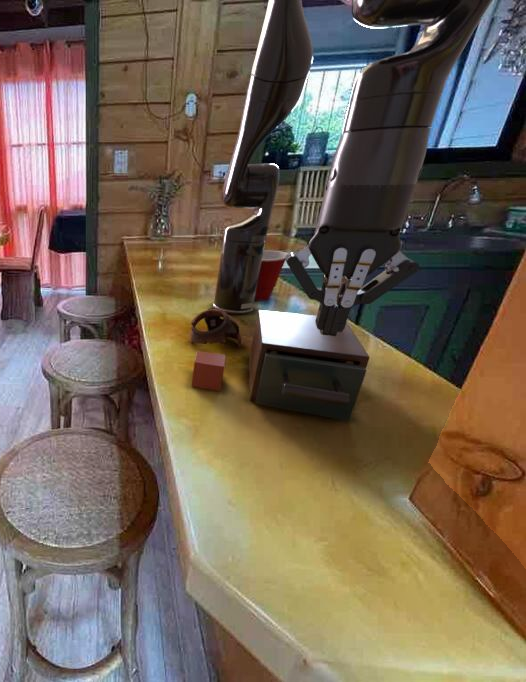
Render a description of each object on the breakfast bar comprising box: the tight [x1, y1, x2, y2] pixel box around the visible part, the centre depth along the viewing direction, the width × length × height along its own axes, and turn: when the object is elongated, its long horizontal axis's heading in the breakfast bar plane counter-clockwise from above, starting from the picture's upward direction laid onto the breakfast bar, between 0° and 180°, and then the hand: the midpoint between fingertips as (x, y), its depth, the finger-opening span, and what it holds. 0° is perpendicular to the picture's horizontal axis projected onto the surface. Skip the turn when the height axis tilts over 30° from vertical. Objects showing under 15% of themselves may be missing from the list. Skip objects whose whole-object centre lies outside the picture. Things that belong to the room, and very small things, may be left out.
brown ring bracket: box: [189, 306, 242, 348], centre depth 76 cm, size 12×10×8 cm
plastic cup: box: [254, 249, 288, 301], centre depth 100 cm, size 11×11×12 cm
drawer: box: [255, 349, 368, 422], centre depth 55 cm, size 18×12×8 cm, turn 157°
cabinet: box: [248, 309, 370, 402], centre depth 59 cm, size 15×13×10 cm
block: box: [191, 350, 226, 392], centre depth 62 cm, size 4×4×4 cm
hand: (326, 333), depth 46 cm, fingers closed
